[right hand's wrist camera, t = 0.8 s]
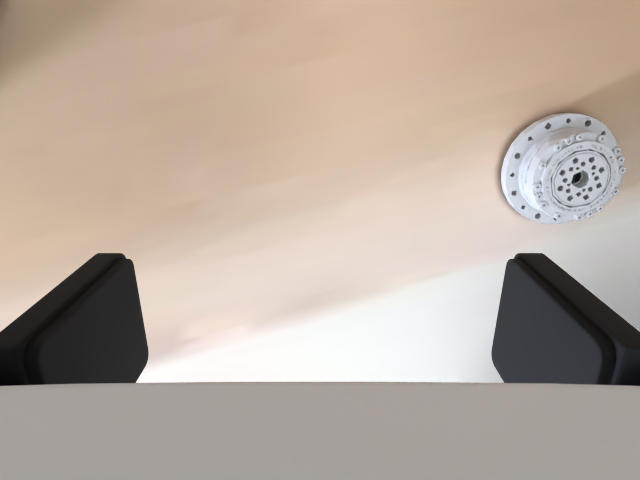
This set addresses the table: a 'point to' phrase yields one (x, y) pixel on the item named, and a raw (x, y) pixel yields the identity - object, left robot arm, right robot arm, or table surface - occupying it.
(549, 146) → the mechanical component
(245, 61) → the table surface
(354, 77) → the table surface
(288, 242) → the table surface
